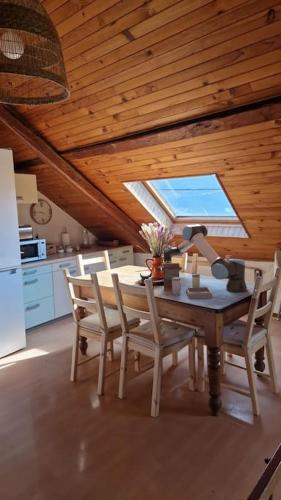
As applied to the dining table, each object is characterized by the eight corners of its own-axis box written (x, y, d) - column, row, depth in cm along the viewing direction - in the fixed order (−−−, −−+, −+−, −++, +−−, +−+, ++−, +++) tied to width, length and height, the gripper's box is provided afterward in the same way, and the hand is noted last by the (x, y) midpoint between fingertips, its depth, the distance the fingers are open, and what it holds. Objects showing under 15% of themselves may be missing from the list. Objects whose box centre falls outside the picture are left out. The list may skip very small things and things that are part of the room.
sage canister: (201, 289, 265) (200, 274, 263) (198, 291, 260) (198, 275, 258) (193, 288, 268) (193, 273, 266) (190, 290, 263) (190, 275, 261)
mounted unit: (163, 288, 272) (163, 263, 269) (179, 287, 272) (178, 262, 269) (164, 290, 264) (163, 265, 261) (180, 290, 264) (179, 264, 261)
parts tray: (186, 292, 259) (186, 287, 258) (207, 291, 259) (207, 287, 258) (189, 298, 243) (189, 293, 242) (212, 297, 243) (212, 292, 242)
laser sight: (144, 289, 270) (144, 277, 268) (138, 283, 292) (138, 271, 290) (156, 288, 272) (156, 276, 270) (149, 282, 294) (149, 270, 292)
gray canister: (181, 293, 255) (181, 277, 253) (178, 295, 250) (177, 279, 248) (174, 292, 258) (173, 277, 256) (170, 294, 253) (170, 278, 251)
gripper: (182, 269, 300) (185, 274, 279) (153, 270, 300) (154, 275, 279) (182, 260, 299) (185, 265, 278) (153, 261, 299) (154, 266, 278)
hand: (170, 270), depth 279 cm, fingers open, 13 cm apart
